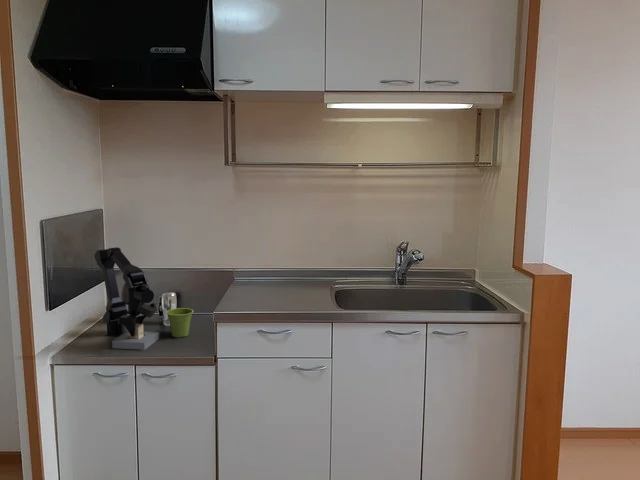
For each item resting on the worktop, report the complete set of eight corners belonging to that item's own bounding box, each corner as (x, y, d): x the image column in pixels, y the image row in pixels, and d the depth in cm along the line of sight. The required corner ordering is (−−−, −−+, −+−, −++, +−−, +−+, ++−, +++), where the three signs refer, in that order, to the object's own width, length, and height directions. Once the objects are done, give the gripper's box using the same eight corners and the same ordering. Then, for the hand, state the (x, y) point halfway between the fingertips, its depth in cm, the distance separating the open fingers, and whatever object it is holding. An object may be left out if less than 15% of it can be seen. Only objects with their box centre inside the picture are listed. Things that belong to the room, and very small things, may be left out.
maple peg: (129, 344, 199) (128, 326, 198) (134, 341, 204) (133, 323, 203) (138, 345, 199) (138, 327, 198) (143, 341, 203) (143, 324, 202)
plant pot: (194, 338, 209) (194, 313, 207) (166, 340, 205) (166, 315, 204) (193, 330, 220) (192, 307, 218) (166, 332, 216) (166, 308, 215)
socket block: (112, 348, 195) (112, 341, 195) (129, 337, 209) (128, 330, 209) (144, 349, 194) (144, 342, 194) (159, 338, 208) (158, 332, 207)
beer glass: (163, 326, 224) (162, 296, 222) (161, 322, 230) (160, 293, 228) (178, 324, 227) (177, 294, 225) (175, 321, 233) (175, 291, 232)
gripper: (142, 305, 189) (144, 342, 191) (162, 294, 207) (163, 328, 209) (116, 304, 190) (118, 341, 192) (138, 293, 208) (139, 327, 210)
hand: (136, 334), depth 201 cm, fingers open, 6 cm apart
